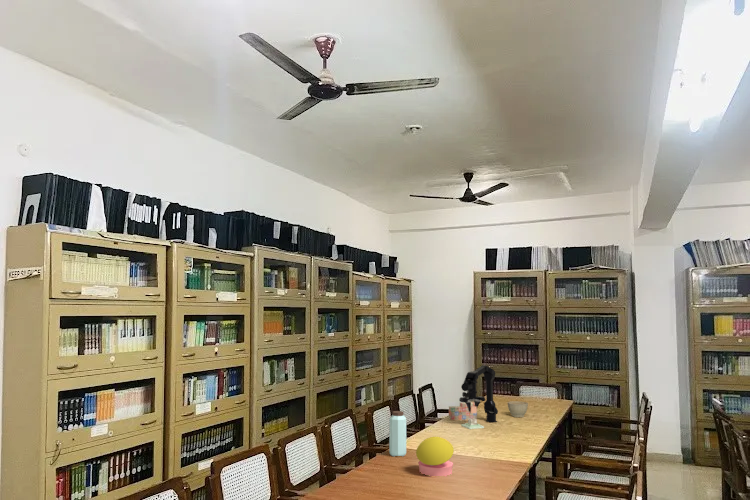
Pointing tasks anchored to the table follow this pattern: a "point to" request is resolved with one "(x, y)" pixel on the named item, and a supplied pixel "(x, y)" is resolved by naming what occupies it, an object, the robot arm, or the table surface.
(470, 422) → the cream brick
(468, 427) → the baseplate
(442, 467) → the yellow egg on stand
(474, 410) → the salmon pink cube
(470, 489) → the table surface
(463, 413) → the stack of blocks
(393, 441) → the water bottle
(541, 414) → the table surface
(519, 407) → the planter bowl
